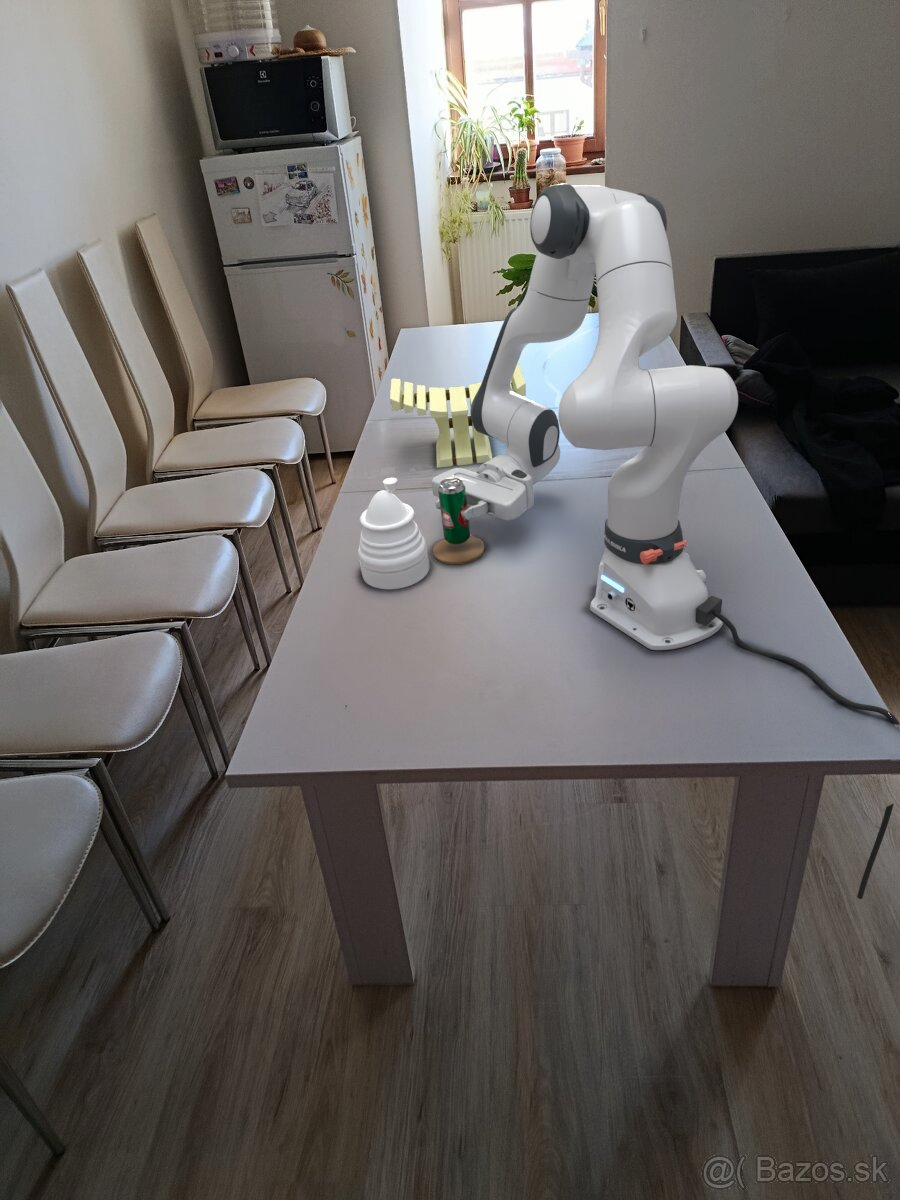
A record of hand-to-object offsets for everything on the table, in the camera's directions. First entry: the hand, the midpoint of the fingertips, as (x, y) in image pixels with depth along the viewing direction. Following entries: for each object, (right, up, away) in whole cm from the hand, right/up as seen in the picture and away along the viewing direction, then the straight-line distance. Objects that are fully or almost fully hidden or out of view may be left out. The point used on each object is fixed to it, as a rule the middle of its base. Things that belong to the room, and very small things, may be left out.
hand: (451, 510), depth 148 cm
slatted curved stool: (+3, +19, +43) cm, 47 cm away
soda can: (+1, -5, +5) cm, 7 cm away
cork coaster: (+2, -7, +6) cm, 9 cm away
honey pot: (-10, -11, +2) cm, 15 cm away
